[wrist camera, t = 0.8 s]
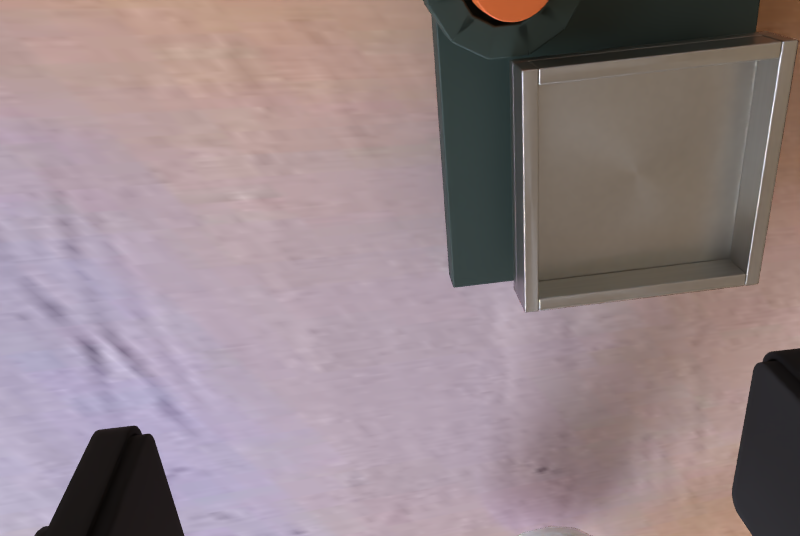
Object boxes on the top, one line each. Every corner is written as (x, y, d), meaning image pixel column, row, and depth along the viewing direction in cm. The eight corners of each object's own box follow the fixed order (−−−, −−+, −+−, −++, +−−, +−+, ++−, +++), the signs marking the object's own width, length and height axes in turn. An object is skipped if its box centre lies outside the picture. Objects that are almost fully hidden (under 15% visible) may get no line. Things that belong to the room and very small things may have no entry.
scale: (410, -109, 26) (418, -111, 23) (760, -145, 26) (807, -152, 24) (439, 275, 34) (448, 306, 31) (711, 243, 34) (743, 270, 31)
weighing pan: (509, 59, 26) (521, 70, 24) (767, 30, 27) (799, 39, 25) (513, 289, 31) (524, 313, 29) (733, 262, 31) (758, 284, 29)
